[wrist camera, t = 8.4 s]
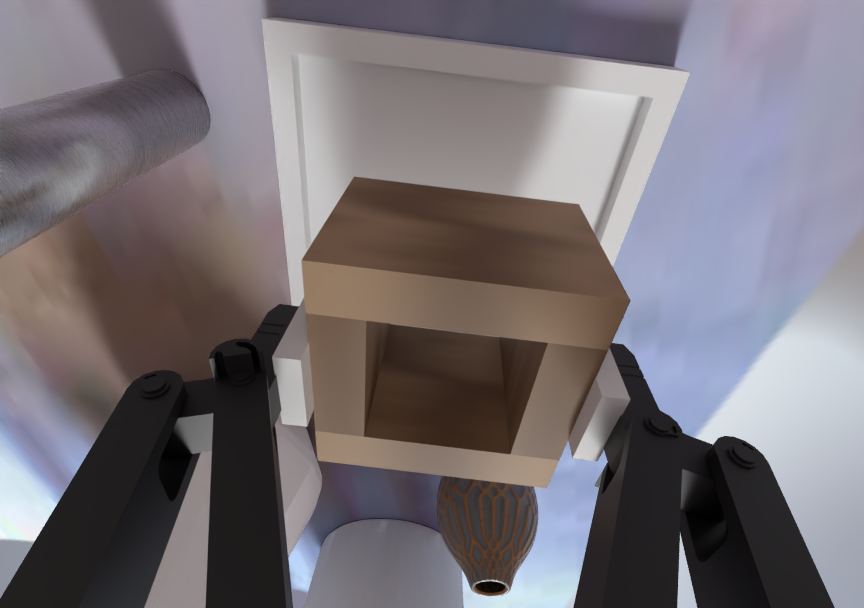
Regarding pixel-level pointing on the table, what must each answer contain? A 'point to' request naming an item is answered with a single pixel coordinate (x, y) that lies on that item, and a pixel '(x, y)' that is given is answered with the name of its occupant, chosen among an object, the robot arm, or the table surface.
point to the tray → (458, 123)
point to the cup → (188, 545)
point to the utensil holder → (385, 568)
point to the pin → (90, 146)
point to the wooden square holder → (455, 329)
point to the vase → (487, 529)
